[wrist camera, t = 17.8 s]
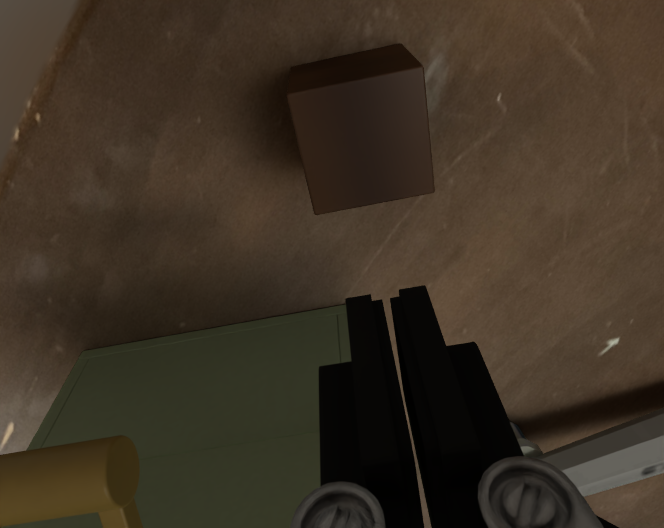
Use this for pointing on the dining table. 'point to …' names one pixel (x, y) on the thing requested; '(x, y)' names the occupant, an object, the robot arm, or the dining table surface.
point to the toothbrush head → (608, 454)
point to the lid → (158, 485)
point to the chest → (201, 386)
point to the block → (362, 128)
